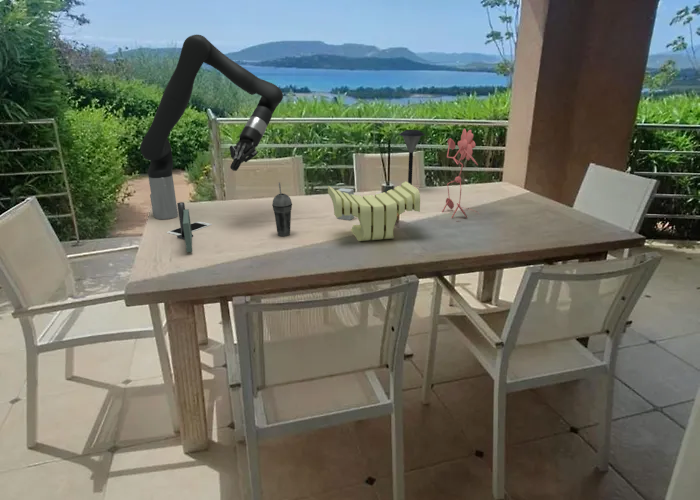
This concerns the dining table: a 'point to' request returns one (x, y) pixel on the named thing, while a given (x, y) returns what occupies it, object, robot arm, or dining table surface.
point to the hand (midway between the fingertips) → (233, 169)
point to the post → (181, 219)
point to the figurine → (465, 151)
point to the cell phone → (194, 227)
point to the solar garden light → (411, 147)
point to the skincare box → (349, 191)
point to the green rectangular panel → (187, 230)
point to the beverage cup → (282, 213)
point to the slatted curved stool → (376, 210)
